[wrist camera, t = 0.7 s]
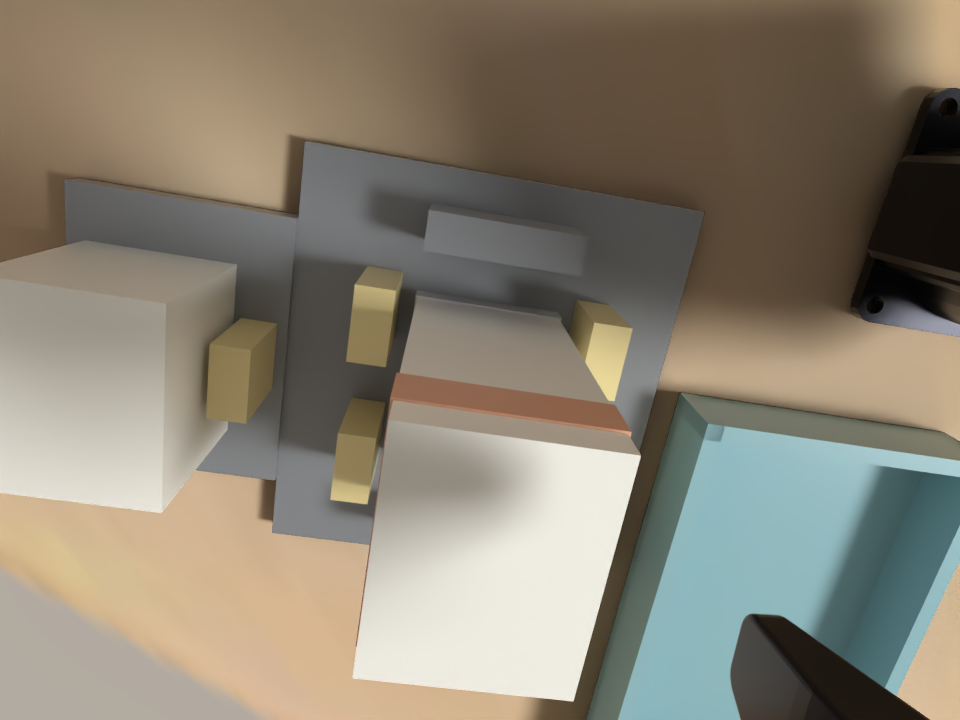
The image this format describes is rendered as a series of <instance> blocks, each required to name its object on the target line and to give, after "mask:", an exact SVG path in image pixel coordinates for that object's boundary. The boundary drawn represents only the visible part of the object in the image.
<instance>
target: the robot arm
mask: <svg viewBox="0 0 960 720" xmlns="http://www.w3.org/2000/svg"><path fill="white" fill-rule="evenodd" d="M944 100H945V101H946V104H947V110H946V112H945V114H944V115H943V116H940V113H939V106H940V104H941V103H942V101H944ZM868 249H869V252H868V255H867V258H866V260H865V263H864V266H863V269H862V272H861V274H860V277H859V280H858V283H857V286H856V288H855V291H854V294H853V297H852V300H851V306H850V307H851V310H852V313H853V314H854V315H855V316H856V317H859V318H861V319H863V320H866V321H868V322H873V323H879V324H885V325H891V326H897V327H903V328H909V329H915V330H921V331H927V332H933V333H939V334H945V335H951V336H957V337H960V89H958V88H946V89H938V90H935V91H933V92H931V93H930V94H929V95H928V96H927V97H926V98H925V99H924V101H923V102H922V104H921V106H920V109H919V112H918V115H917V118H916V120H915V123H914V126H913V129H912V132H911V134H910V137H909V140H908V143H907V146H906V148H905V151H904V154H903V157H902V160H901V161H900V162H899V163H898V164H897V166H896V169H895V172H894V175H893V178H892V180H891V183H890V186H889V189H888V192H887V195H886V197H885V200H884V203H883V206H882V209H881V211H880V214H879V217H878V220H877V223H876V225H875V228H874V231H873V234H872V237H871V239H870V242H869V245H868ZM874 297H875V299H876V300H875V305H874V306H873V308H871V309H870V310H867V303H868V302H869V300H871V299H872V298H874ZM730 681H731V687H732V691H733V695H734V698H735V702H736V705H737V709H738V712H739V716H740V719H741V720H930V719H928V718H927V717H925V716H924V715H923V714H921V713H920V712H918V711H917V710H915V709H914V708H913V707H911V706H910V705H908V704H907V703H906V702H904V701H903V700H901V699H900V698H898V697H897V696H896V695H894V694H893V693H891V692H890V691H889V690H887V689H886V688H884V687H883V686H881V685H880V684H879V683H877V682H876V681H874V680H873V679H872V678H870V677H869V676H867V675H866V674H865V673H863V672H862V671H860V670H859V669H857V668H856V667H855V666H853V665H852V664H850V663H849V662H848V661H846V660H845V659H843V658H842V657H840V656H839V655H838V654H836V653H835V652H833V651H832V650H831V649H829V648H828V647H826V646H825V645H823V644H822V643H821V642H819V641H818V640H816V639H815V638H814V637H812V636H811V635H809V634H808V633H807V632H805V631H804V630H802V629H801V628H799V627H798V626H797V625H795V624H794V623H792V622H791V621H790V620H788V619H787V618H785V617H783V616H781V615H774V614H756V613H752V614H749V615H747V616H746V617H745V618H744V620H743V622H742V625H741V628H740V632H739V636H738V640H737V644H736V648H735V652H734V656H733V659H732V663H731V669H730Z"/></svg>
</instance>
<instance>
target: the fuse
mask: <svg viewBox="0 0 960 720" xmlns="http://www.w3.org/2000/svg"><path fill="white" fill-rule="evenodd" d="M561 320H562V318H561V316H560V315H559V313H558V312H553V311H547V310H540V309H534V308H528V307H522V306H515V305H509V304H503V303H497V302H490V301H484V300H478V299H472V298H465V297H459V296H453V295H447V294H440V293H434V292H428V291H422V290H417V292H416V297H415V304H414V311H413V318H412V322H411V326H410V331H409V335H408V339H407V343H406V347H405V352H404V356H403V360H402V364H401V369H400V373H396V377H395V381H394V385H393V389H392V393H391V397H390V404H389V411H388V418H387V425H386V432H385V440H384V447H383V454H382V461H381V468H380V476H379V483H378V490H377V497H376V504H375V512H374V519H373V526H372V533H371V540H370V548H369V555H368V562H367V569H366V576H365V584H364V591H363V598H362V605H361V612H360V620H359V627H358V634H357V641H356V647H357V649H356V656H355V663H354V670H353V677H352V678H354V679H364V680H373V681H383V682H392V683H402V684H412V685H421V686H431V687H440V688H450V689H459V690H469V691H478V692H488V693H497V694H507V695H516V696H526V697H535V698H545V699H554V700H564V701H574V698H575V694H576V690H577V687H578V683H579V679H580V676H581V672H582V669H583V665H584V661H585V658H586V654H587V650H588V647H589V643H590V640H591V636H592V632H593V629H594V625H595V621H596V618H597V614H598V611H599V607H600V603H601V600H602V596H603V592H604V589H605V585H606V581H607V578H608V574H609V571H610V567H611V563H612V560H613V556H614V552H615V549H616V545H617V542H618V538H619V534H620V531H621V527H622V523H623V520H624V516H625V513H626V509H627V505H628V502H629V498H630V494H631V491H632V487H633V483H634V480H635V476H636V473H637V469H638V465H639V462H640V458H641V455H640V453H639V451H638V450H637V448H636V446H635V445H634V443H633V441H632V440H631V438H630V437H631V433H632V431H631V430H630V428H629V427H628V425H627V423H626V422H625V420H624V418H623V417H622V415H621V414H620V412H619V410H618V409H617V407H616V405H613V404H610V403H609V401H608V400H607V398H606V396H605V395H604V393H603V391H602V390H601V388H600V386H599V385H598V383H597V381H596V380H595V378H594V376H593V375H592V373H591V371H590V370H589V368H588V366H587V365H586V363H585V361H584V360H583V358H582V356H581V355H580V353H579V351H578V350H577V348H576V346H575V344H574V343H573V341H572V339H571V338H570V336H569V334H568V333H567V331H566V329H565V328H564V326H563V324H562V323H561Z"/></svg>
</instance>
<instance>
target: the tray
mask: <svg viewBox="0 0 960 720" xmlns="http://www.w3.org/2000/svg"><path fill="white" fill-rule="evenodd" d="M959 561H960V441H958V440H956V439H954V438H953V437H951V436H949V435H948V434H946V433H944V432H938V431H931V430H925V429H918V428H911V427H905V426H898V425H892V424H885V423H878V422H872V421H865V420H859V419H852V418H845V417H839V416H832V415H825V414H819V413H812V412H806V411H799V410H792V409H786V408H779V407H773V406H766V405H759V404H753V403H746V402H740V401H733V400H726V399H720V398H713V397H707V396H700V395H693V394H687V393H680V394H679V397H678V401H677V404H676V408H675V411H674V415H673V418H672V422H671V425H670V429H669V432H668V436H667V439H666V443H665V446H664V450H663V453H662V457H661V460H660V464H659V467H658V471H657V474H656V478H655V481H654V485H653V488H652V492H651V495H650V499H649V502H648V506H647V509H646V513H645V516H644V520H643V523H642V527H641V530H640V534H639V537H638V541H637V544H636V548H635V551H634V555H633V558H632V562H631V565H630V569H629V572H628V576H627V579H626V583H625V586H624V590H623V593H622V597H621V600H620V603H619V607H618V610H617V614H616V617H615V621H614V624H613V628H612V631H611V635H610V638H609V642H608V645H607V649H606V652H605V656H604V659H603V663H602V666H601V670H600V673H599V677H598V680H597V684H596V687H595V691H594V694H593V698H592V701H591V705H590V708H589V712H588V715H587V719H586V720H741V719H740V716H739V712H738V709H737V705H736V702H735V698H734V695H733V691H732V687H731V681H730V669H731V663H732V659H733V656H734V652H735V648H736V644H737V640H738V636H739V632H740V628H741V625H742V622H743V620H744V618H745V617H746V616H747V615H749V614H752V613H756V614H774V615H781V616H783V617H785V618H787V619H788V620H790V621H791V622H792V623H794V624H795V625H797V626H798V627H799V628H801V629H802V630H804V631H805V632H807V633H808V634H809V635H811V636H812V637H814V638H815V639H816V640H818V641H819V642H821V643H822V644H823V645H825V646H826V647H828V648H829V649H831V650H832V651H833V652H835V653H836V654H838V655H839V656H840V657H842V658H843V659H845V660H846V661H848V662H849V663H850V664H852V665H853V666H855V667H856V668H857V669H859V670H860V671H862V672H863V673H865V674H866V675H867V676H869V677H870V678H872V679H873V680H874V681H876V682H877V683H879V684H880V685H881V686H883V687H884V688H886V689H887V690H889V691H890V692H891V693H893V694H894V695H897V693H898V691H899V688H900V686H901V684H902V682H903V680H904V678H905V676H906V673H907V671H908V669H909V667H910V665H911V663H912V661H913V659H914V656H915V654H916V652H917V650H918V648H919V646H920V644H921V642H922V639H923V637H924V635H925V633H926V631H927V629H928V627H929V625H930V622H931V620H932V618H933V616H934V614H935V612H936V610H937V607H938V605H939V603H940V601H941V599H942V597H943V595H944V593H945V590H946V588H947V586H948V584H949V582H950V580H951V578H952V576H953V573H954V571H955V569H956V567H957V565H958V563H959Z"/></svg>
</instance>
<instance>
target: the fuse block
mask: <svg viewBox="0 0 960 720" xmlns="http://www.w3.org/2000/svg"><path fill="white" fill-rule="evenodd" d="M64 194H65V234H66V245H65V246H61V247H57V248H53V249H50V250H46V251H42V252H38V253H34V254H31V255H27V256H23V257H19V258H15V259H12V260H8V261H4V262H0V493H5V494H13V495H21V496H29V497H37V498H45V499H53V500H61V501H69V502H77V503H85V504H93V505H101V506H110V507H118V508H126V509H134V510H142V511H150V512H158V513H162V512H163V511H164V509H165V508H166V507H167V506H168V504H169V503H170V502H171V500H172V499H173V498H174V497H175V495H176V494H177V493H178V492H179V490H180V489H181V488H182V487H183V485H184V484H185V483H186V481H187V480H188V479H189V478H190V476H191V475H192V474H193V473H194V471H195V470H198V471H205V472H213V473H221V474H228V475H236V476H244V477H251V478H259V479H266V480H274V481H275V480H276V491H275V503H274V515H273V526H272V533H278V534H286V535H294V536H302V537H310V538H318V539H327V540H335V541H343V542H351V543H359V544H367V545H370V540H371V533H372V526H373V519H374V512H375V504H376V497H377V490H378V483H379V476H380V468H381V461H382V454H383V447H384V440H385V432H386V425H387V418H388V411H389V404H390V397H391V393H392V389H393V385H394V381H395V377H396V373H400V369H401V364H402V360H403V356H404V352H405V347H406V343H407V339H408V335H409V331H410V326H411V322H412V318H413V311H414V304H415V297H416V292H417V290H422V291H428V292H434V293H440V294H447V295H453V296H459V297H465V298H472V299H478V300H484V301H490V302H497V303H503V304H509V305H515V306H522V307H528V308H534V309H540V310H547V311H553V312H558V313H559V315H560V316H561V318H562V320H561V323H562V324H563V326H564V328H565V329H566V331H567V333H568V334H569V336H570V338H571V339H572V341H573V343H574V344H575V346H576V348H577V350H578V351H579V353H580V355H581V356H582V358H583V360H584V361H585V363H586V365H587V366H588V368H589V370H590V371H591V373H592V375H593V376H594V378H595V380H596V381H597V383H598V385H599V386H600V388H601V390H602V391H603V393H604V395H605V396H606V398H607V400H608V401H609V403H610V404H613V405H616V407H617V409H618V410H619V412H620V414H621V415H622V417H623V418H624V420H625V422H626V423H627V425H628V427H629V428H630V430H631V431H632V433H631V437H630V438H631V440H632V441H633V443H634V445H635V446H636V448H637V450H638V451H640V447H641V444H642V440H643V437H644V433H645V429H646V426H647V422H648V418H649V415H650V411H651V407H652V404H653V400H654V396H655V393H656V389H657V385H658V382H659V378H660V374H661V371H662V367H663V364H664V360H665V356H666V353H667V349H668V345H669V342H670V338H671V334H672V331H673V327H674V323H675V320H676V316H677V312H678V309H679V305H680V301H681V298H682V294H683V291H684V287H685V283H686V280H687V276H688V272H689V269H690V265H691V261H692V258H693V254H694V250H695V247H696V243H697V239H698V236H699V232H700V228H701V225H702V221H703V218H704V214H705V212H701V211H698V210H693V209H687V208H681V207H676V206H670V205H664V204H659V203H653V202H648V201H642V200H636V199H631V198H625V197H620V196H614V195H608V194H603V193H597V192H591V191H586V190H580V189H575V188H569V187H563V186H558V185H552V184H546V183H541V182H535V181H530V180H524V179H518V178H513V177H507V176H502V175H496V174H490V173H485V172H479V171H473V170H468V169H462V168H457V167H451V166H445V165H440V164H434V163H429V162H423V161H417V160H412V159H406V158H400V157H395V156H389V155H384V154H378V153H372V152H367V151H361V150H355V149H350V148H344V147H339V146H333V145H327V144H322V143H316V142H311V141H305V146H304V158H303V170H302V182H301V194H300V205H299V215H297V214H291V213H285V212H279V211H273V210H267V209H262V208H256V207H250V206H244V205H238V204H232V203H226V202H220V201H214V200H208V199H202V198H196V197H190V196H184V195H178V194H172V193H166V192H160V191H154V190H148V189H142V188H136V187H130V186H124V185H118V184H112V183H106V182H101V181H95V180H89V179H83V178H78V179H67V180H64ZM276 478H277V479H276Z"/></svg>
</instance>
